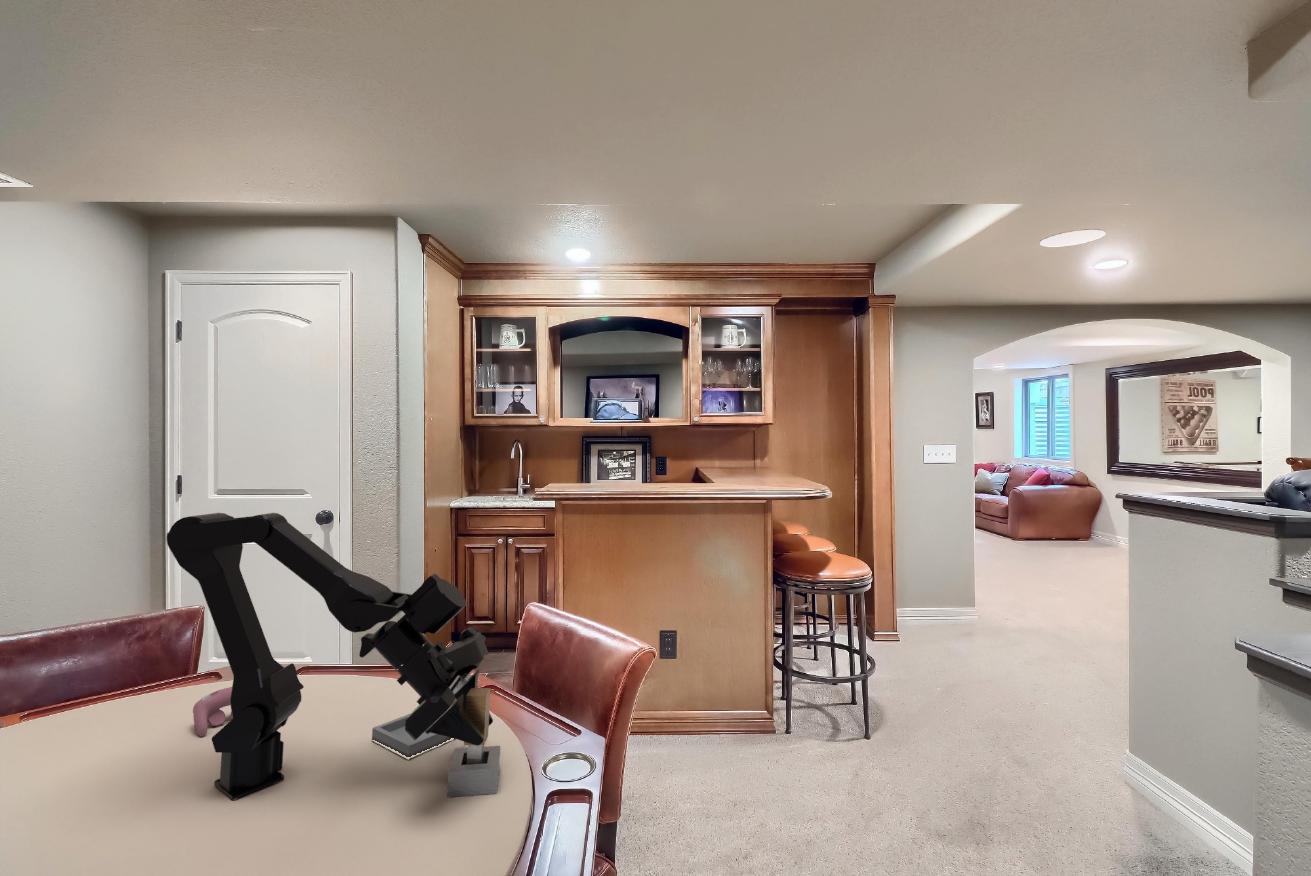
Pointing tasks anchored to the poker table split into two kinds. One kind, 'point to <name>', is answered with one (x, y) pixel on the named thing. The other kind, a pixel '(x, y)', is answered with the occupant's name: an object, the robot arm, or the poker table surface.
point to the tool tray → (405, 738)
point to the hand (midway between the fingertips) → (486, 733)
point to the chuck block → (473, 773)
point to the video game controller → (211, 710)
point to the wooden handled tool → (478, 721)
